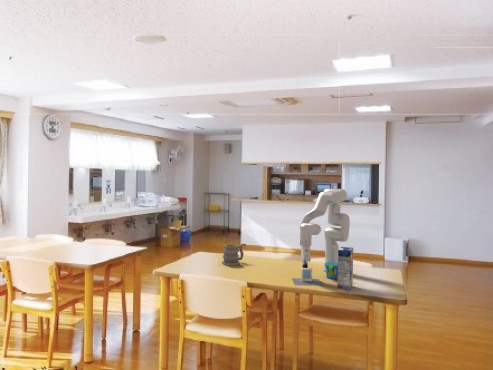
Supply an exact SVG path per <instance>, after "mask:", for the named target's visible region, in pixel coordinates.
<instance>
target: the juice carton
mask: <svg viewBox="0 0 493 370" xmlns="http://www.w3.org/2000/svg"><path fill="white" fill-rule="evenodd" d="M353 270H354V247H349V246H348V247H347V246H340V247H339V249H338V279H337V282H336V284H337V286H336V287H337V289H343V290H345V291H351V289H352V288H353V281H354V280H353V277H354V276H353V275H354V274H353V273H354V272H353Z"/></svg>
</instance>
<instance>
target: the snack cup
mask: <svg viewBox="0 0 493 370" xmlns="http://www.w3.org/2000/svg"><path fill="white" fill-rule="evenodd" d="M324 267H325V269H326V271H325V276H326V279H329V280H338V263H335V262H326V263H325V262H324Z"/></svg>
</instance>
